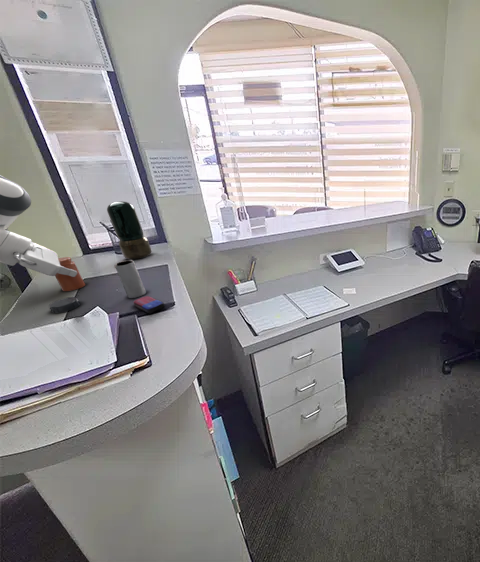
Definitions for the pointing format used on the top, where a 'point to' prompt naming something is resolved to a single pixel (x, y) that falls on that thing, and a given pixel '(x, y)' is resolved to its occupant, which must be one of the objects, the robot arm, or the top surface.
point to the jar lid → (64, 305)
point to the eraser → (148, 304)
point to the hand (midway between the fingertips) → (74, 270)
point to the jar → (68, 281)
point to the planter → (130, 278)
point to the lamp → (128, 230)
